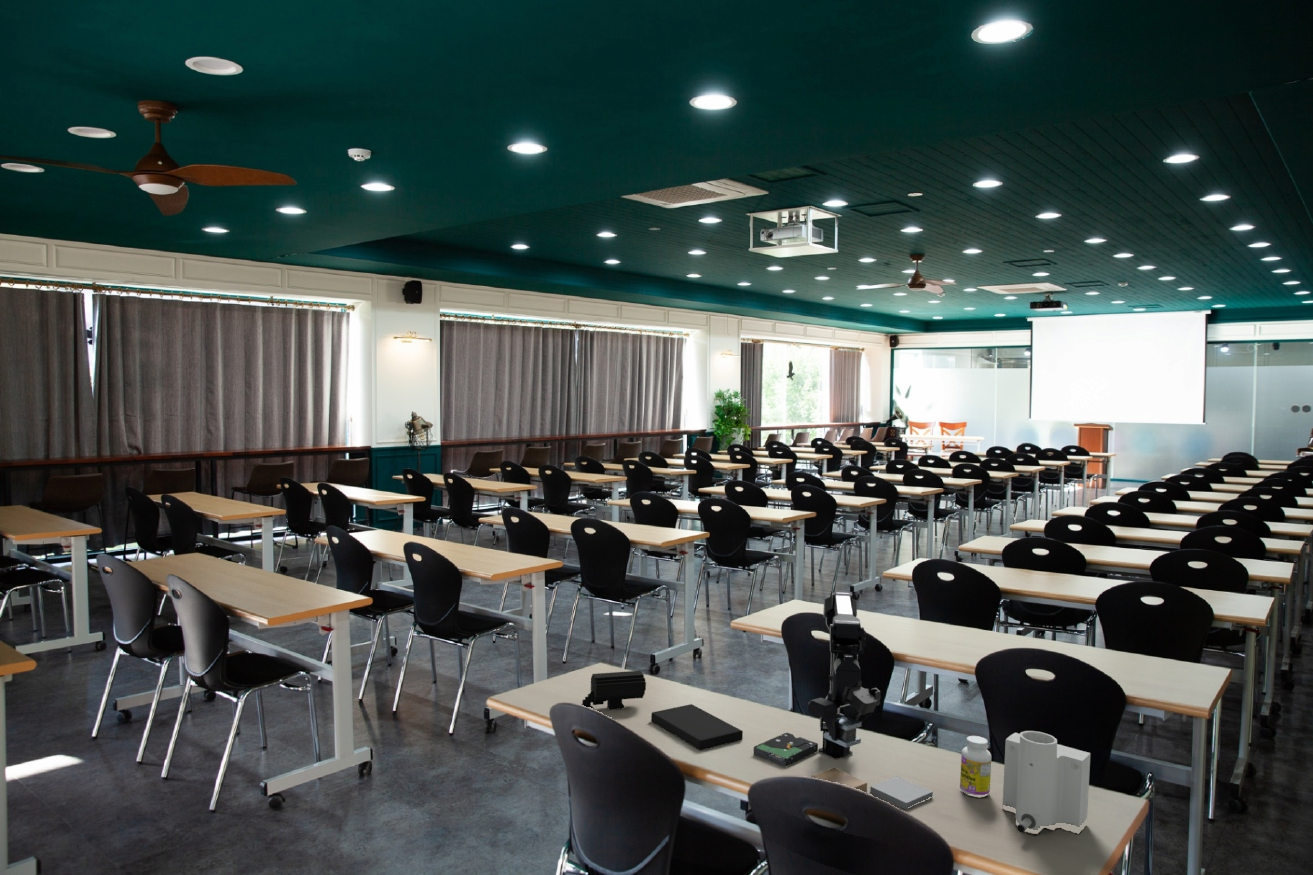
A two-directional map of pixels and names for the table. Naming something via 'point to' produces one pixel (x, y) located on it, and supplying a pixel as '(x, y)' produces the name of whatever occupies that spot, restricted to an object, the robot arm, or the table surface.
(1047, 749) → the grey cylinder bracket
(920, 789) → the stand
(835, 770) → the stand
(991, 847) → the table surface
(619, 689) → the security camera
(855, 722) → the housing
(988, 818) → the table surface
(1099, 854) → the table surface
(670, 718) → the external hard drive
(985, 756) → the supplement bottle
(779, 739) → the disk drive
